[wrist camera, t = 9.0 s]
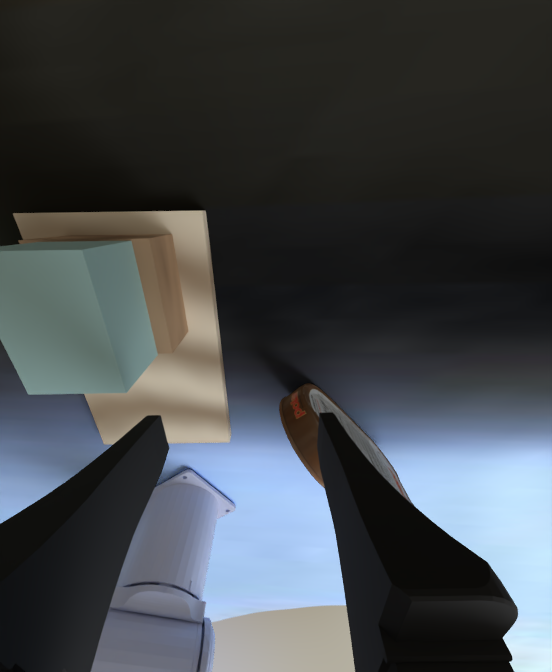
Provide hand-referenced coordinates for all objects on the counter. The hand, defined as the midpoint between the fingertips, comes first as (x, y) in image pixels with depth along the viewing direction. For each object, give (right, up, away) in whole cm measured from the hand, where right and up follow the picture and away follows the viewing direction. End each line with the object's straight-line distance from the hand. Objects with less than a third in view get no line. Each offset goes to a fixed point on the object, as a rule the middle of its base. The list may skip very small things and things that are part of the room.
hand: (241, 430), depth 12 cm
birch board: (-9, +4, +10) cm, 14 cm away
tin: (+8, -4, +14) cm, 16 cm away
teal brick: (-9, +6, +4) cm, 11 cm away
